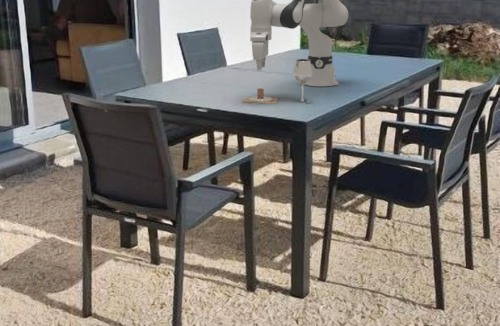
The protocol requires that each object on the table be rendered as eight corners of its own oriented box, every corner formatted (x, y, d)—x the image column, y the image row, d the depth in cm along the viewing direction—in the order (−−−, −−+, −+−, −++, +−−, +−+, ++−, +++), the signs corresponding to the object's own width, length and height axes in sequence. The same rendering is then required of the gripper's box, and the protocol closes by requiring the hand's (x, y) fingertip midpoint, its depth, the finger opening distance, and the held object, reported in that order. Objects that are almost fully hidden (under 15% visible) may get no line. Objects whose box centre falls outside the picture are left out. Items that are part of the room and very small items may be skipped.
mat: (247, 97, 285) (247, 96, 285) (278, 98, 283) (278, 97, 282) (241, 104, 272) (241, 102, 272) (274, 105, 269) (274, 103, 269)
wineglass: (291, 100, 279) (292, 58, 274) (310, 100, 279) (311, 58, 274) (294, 104, 271) (294, 61, 266) (313, 103, 271) (314, 61, 266)
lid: (250, 97, 282) (250, 86, 281) (273, 98, 281) (273, 87, 280) (247, 102, 273) (247, 90, 272) (270, 102, 272) (270, 91, 270)
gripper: (257, 33, 279) (257, 65, 283) (249, 37, 260) (249, 71, 264) (271, 33, 278) (271, 65, 282) (264, 37, 259) (264, 71, 263)
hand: (261, 68), depth 273 cm, fingers open, 8 cm apart
